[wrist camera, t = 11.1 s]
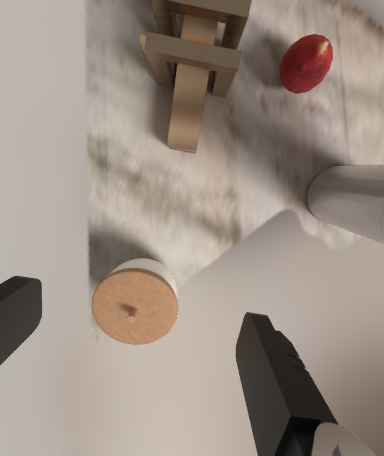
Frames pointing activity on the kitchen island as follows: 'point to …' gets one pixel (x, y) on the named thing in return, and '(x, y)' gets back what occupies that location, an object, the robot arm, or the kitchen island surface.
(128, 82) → the kitchen island surface
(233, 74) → the tan arch block
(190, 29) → the bar
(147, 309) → the lidded bowl
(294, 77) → the onion
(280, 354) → the robot arm
